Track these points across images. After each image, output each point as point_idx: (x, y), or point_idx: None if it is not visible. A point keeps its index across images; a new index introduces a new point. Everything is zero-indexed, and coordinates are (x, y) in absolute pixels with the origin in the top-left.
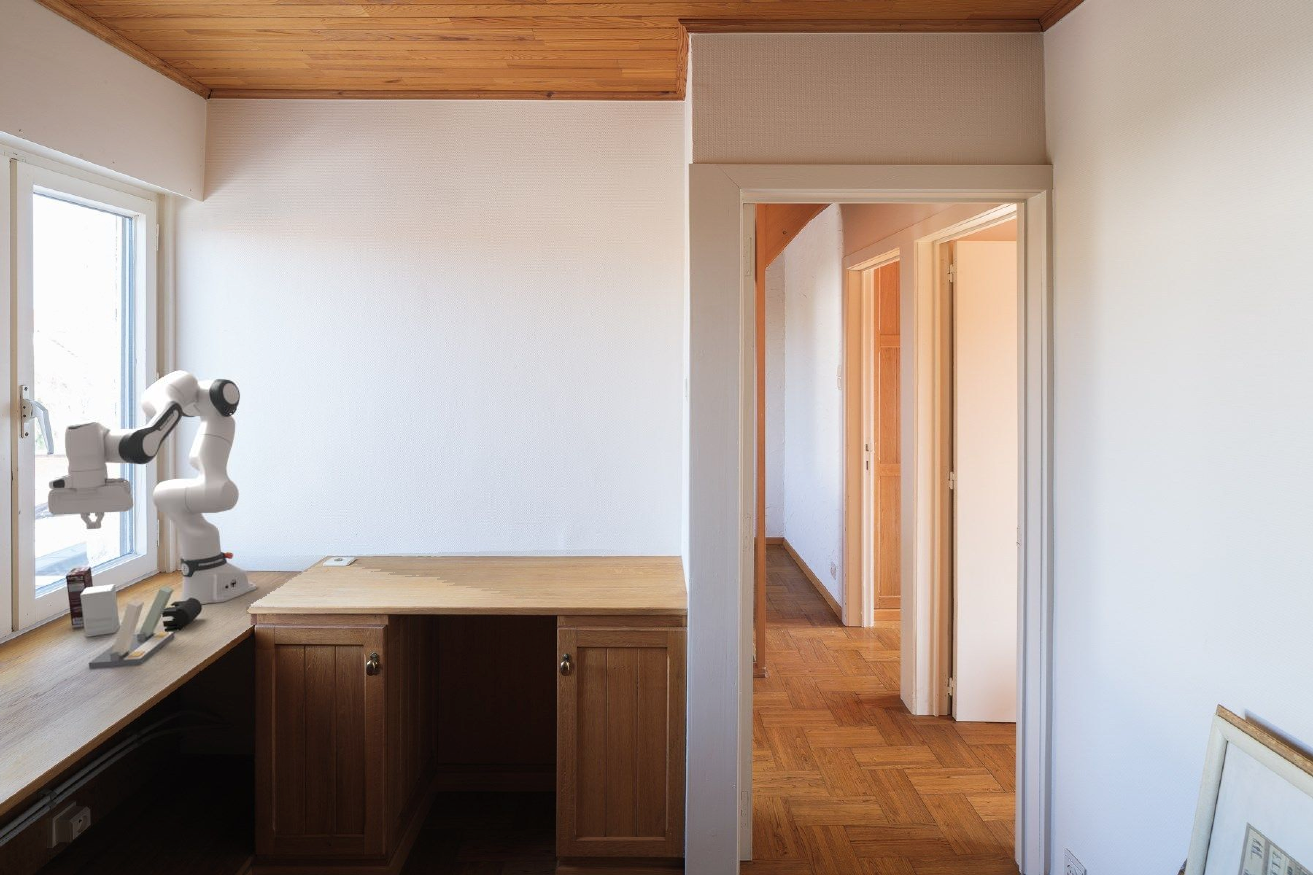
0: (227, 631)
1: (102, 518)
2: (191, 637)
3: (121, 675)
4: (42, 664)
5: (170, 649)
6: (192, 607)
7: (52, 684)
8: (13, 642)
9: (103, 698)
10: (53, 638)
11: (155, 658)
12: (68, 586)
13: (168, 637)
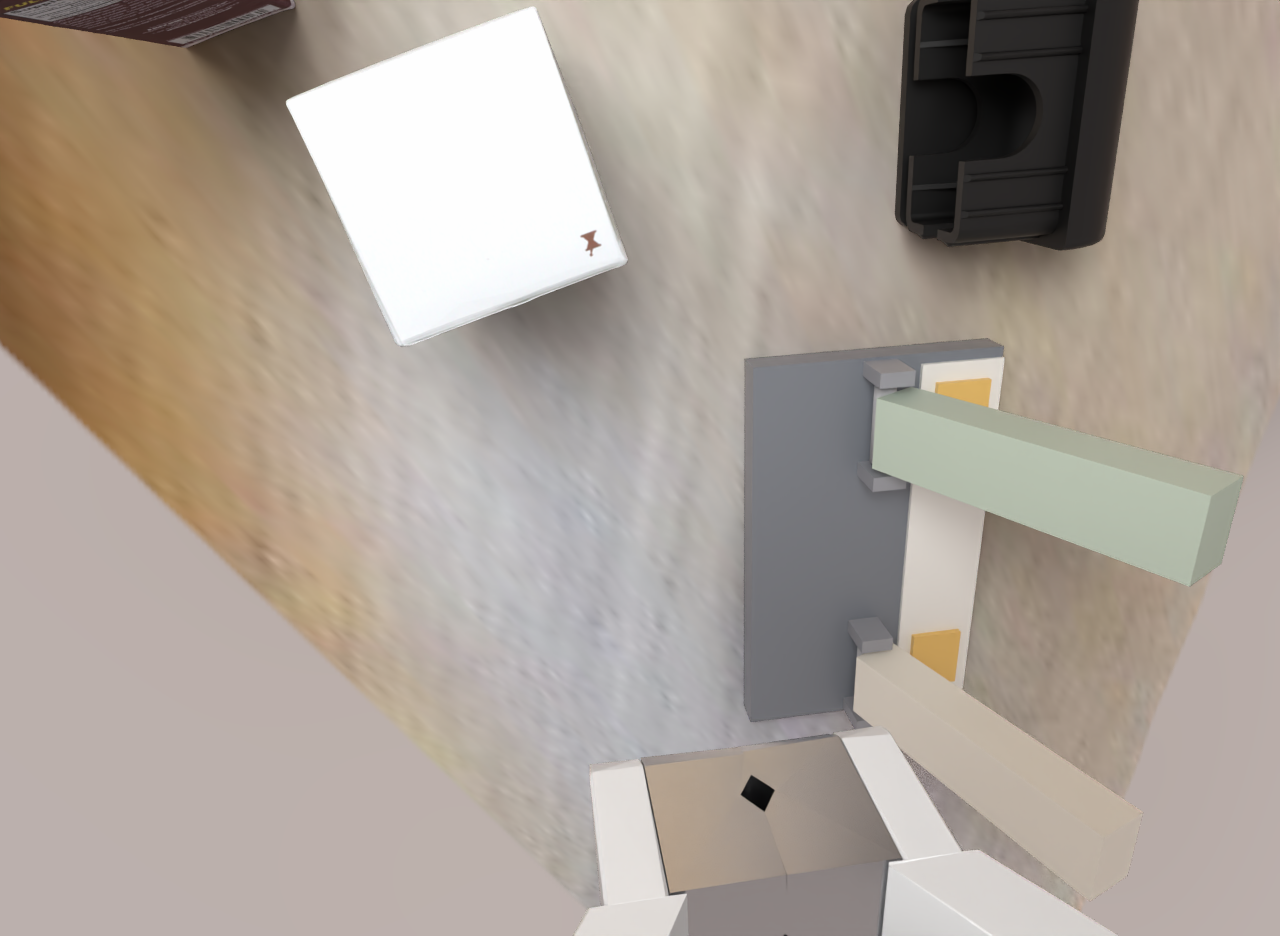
0: (1247, 280)
1: (1086, 933)
2: (1078, 355)
3: (913, 766)
4: (483, 653)
5: None
6: (1120, 125)
7: None
8: None
9: None
10: (221, 269)
11: (986, 614)
12: (18, 17)
13: None
